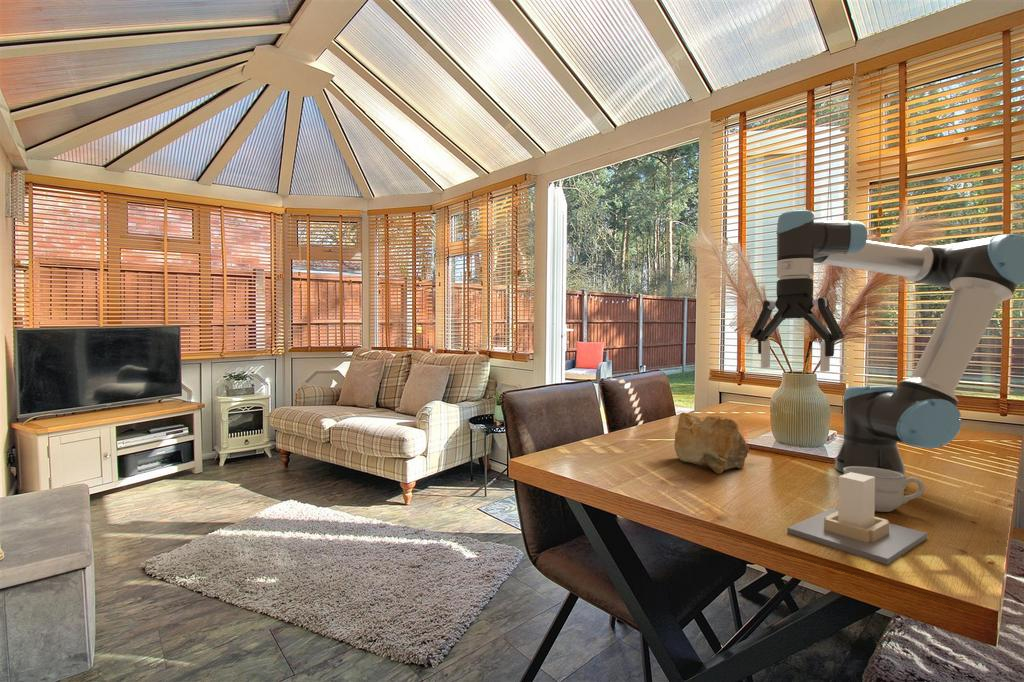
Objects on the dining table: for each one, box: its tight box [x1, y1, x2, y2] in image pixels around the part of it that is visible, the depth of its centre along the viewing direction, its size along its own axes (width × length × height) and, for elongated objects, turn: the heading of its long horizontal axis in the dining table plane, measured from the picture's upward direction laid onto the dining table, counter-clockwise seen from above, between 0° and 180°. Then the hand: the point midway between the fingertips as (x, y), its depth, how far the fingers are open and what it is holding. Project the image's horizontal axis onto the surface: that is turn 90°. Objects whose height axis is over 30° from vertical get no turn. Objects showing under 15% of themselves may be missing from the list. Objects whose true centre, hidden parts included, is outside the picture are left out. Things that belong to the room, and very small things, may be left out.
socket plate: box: [786, 507, 928, 566], centre depth 95 cm, size 18×16×3 cm
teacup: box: [843, 466, 926, 513], centre depth 109 cm, size 14×11×8 cm
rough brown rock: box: [674, 412, 750, 475], centre depth 143 cm, size 23×17×15 cm
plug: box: [837, 472, 876, 529], centre depth 95 cm, size 5×4×10 cm
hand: (793, 369), depth 120 cm, fingers open, 13 cm apart
